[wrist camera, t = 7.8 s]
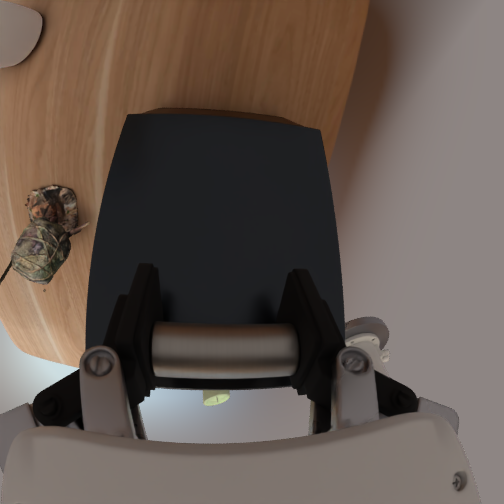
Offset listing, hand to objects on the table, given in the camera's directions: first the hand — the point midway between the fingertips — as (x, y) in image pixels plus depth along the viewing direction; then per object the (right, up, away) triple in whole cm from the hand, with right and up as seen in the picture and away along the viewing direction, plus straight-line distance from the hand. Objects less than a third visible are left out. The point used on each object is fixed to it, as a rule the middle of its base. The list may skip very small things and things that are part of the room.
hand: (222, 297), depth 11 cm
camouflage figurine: (-24, +7, +19) cm, 32 cm away
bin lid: (-1, +3, +4) cm, 5 cm away
